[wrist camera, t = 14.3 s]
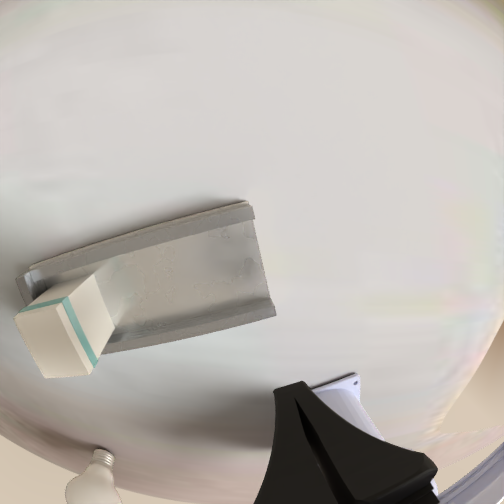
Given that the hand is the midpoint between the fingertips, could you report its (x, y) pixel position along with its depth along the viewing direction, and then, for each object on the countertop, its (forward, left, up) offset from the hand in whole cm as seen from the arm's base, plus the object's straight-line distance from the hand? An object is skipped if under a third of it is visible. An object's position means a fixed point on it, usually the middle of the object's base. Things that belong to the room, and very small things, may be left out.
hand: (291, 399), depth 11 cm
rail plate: (+4, +8, -10) cm, 14 cm away
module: (+3, +13, -10) cm, 16 cm away
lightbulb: (-15, +22, -11) cm, 29 cm away
